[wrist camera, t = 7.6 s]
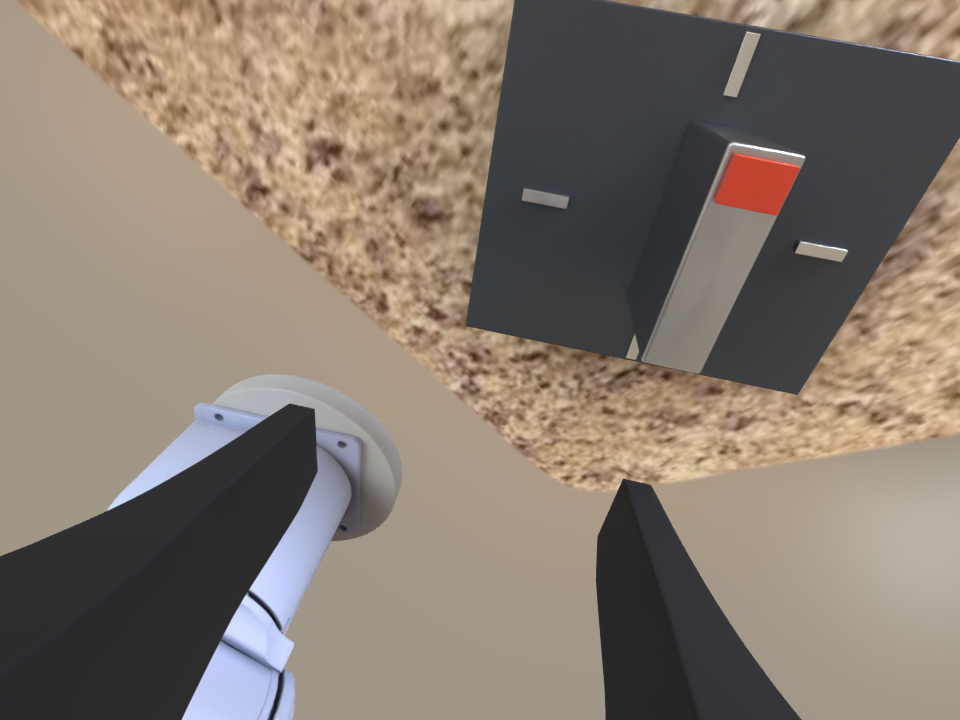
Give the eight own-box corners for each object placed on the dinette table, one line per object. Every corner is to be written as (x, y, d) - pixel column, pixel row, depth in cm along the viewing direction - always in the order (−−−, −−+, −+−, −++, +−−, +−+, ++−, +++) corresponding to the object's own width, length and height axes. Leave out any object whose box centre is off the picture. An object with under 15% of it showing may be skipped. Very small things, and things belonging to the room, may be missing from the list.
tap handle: (673, 309, 16) (702, 381, 13) (625, 299, 16) (641, 368, 13) (748, 130, 13) (813, 157, 10) (689, 119, 13) (733, 142, 10)
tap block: (478, 293, 20) (464, 328, 18) (525, -3, 15) (516, -16, 12) (768, 352, 20) (799, 398, 17) (927, 66, 14) (1009, 68, 12)
